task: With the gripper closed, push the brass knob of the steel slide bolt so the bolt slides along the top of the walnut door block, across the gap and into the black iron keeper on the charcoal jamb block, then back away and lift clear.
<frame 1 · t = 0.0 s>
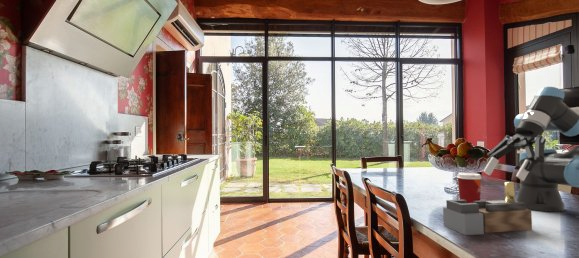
hand: (501, 175, 104), 15 cm above the table, tool tilted 35°, fingers open, 13 cm apart
jamb: (462, 215, 94), on the table
door: (489, 227, 96), on the table
bolt: (501, 195, 96), point 10 cm above the table, slide at 0.0 cm
coffee cup: (470, 214, 112), on the table
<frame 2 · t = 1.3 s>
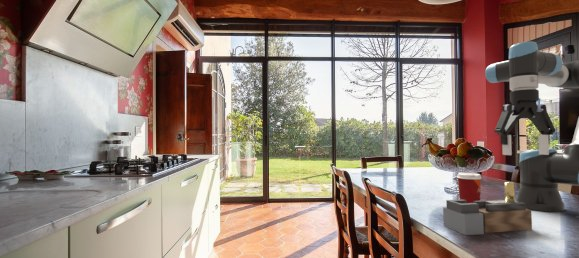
hand: (525, 154, 98), 23 cm above the table, tool pointing down, fingers open, 13 cm apart
nothing on the table moved.
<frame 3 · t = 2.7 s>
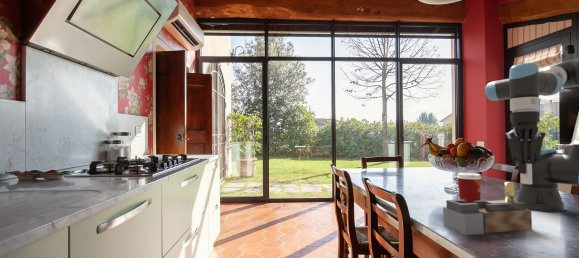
hand: (526, 183, 98), 14 cm above the table, tool pointing down, fingers closed
nothing on the table moved.
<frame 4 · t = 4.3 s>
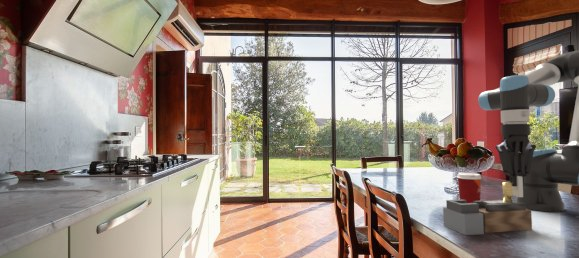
hand: (517, 196, 97), 10 cm above the table, tool pointing down, fingers closed
bolt: (499, 195, 96), point 10 cm above the table, slide at 0.8 cm, touching gripper
everything else where it was.
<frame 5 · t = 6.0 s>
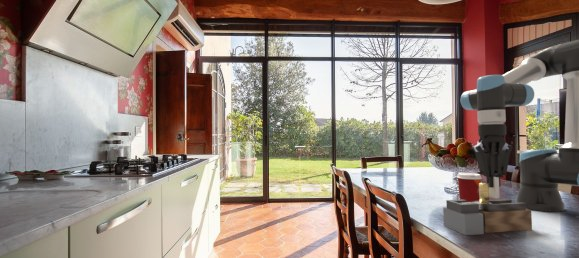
hand: (494, 197, 96), 10 cm above the table, tool pointing down, fingers closed
bolt: (475, 196, 95), point 10 cm above the table, slide at 9.2 cm, touching gripper
everything else where it was.
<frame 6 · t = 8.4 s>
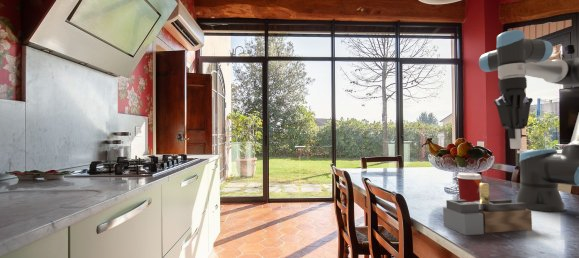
hand: (515, 148, 100), 25 cm above the table, tool pointing down, fingers closed
bolt: (476, 196, 95), point 10 cm above the table, slide at 9.0 cm
everything else where it was.
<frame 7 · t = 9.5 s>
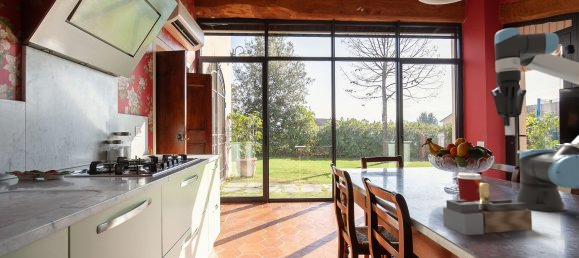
hand: (510, 134, 111), 29 cm above the table, tool pointing down, fingers closed
nothing on the table moved.
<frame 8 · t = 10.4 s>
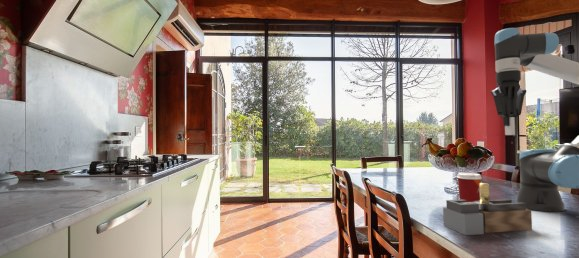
hand: (510, 134, 111), 29 cm above the table, tool pointing down, fingers closed
nothing on the table moved.
at the end: bolt slide at 9.0 cm; coffee cup moved 0.2 cm from its start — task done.
